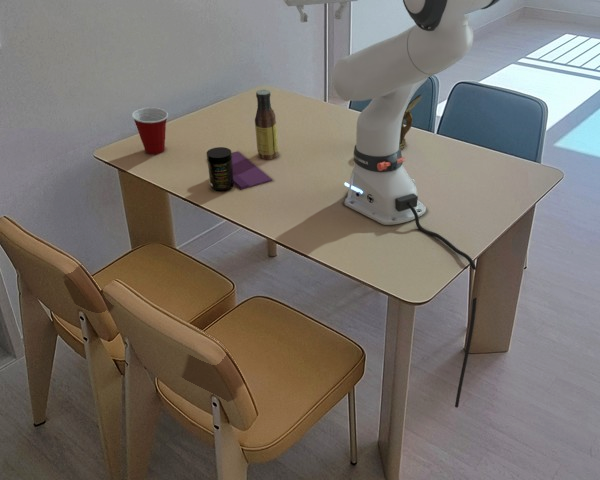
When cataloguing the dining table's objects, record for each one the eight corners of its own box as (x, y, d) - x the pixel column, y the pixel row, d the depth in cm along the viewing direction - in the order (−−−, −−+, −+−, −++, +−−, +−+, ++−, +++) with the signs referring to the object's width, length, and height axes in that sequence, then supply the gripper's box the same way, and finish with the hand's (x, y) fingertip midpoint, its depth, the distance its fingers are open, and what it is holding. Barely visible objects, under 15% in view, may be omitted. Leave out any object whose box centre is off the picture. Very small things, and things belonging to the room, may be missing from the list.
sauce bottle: (269, 149, 202) (266, 85, 189) (282, 156, 198) (280, 91, 186) (252, 155, 198) (248, 91, 186) (265, 162, 194) (261, 97, 182)
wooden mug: (407, 158, 195) (413, 99, 184) (370, 146, 202) (373, 89, 191) (423, 148, 201) (429, 90, 190) (385, 137, 207) (389, 80, 196)
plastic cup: (167, 159, 197) (161, 121, 190) (133, 157, 199) (126, 119, 192) (178, 144, 206) (172, 107, 199) (145, 142, 207) (138, 105, 200)
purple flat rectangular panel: (272, 180, 185) (272, 178, 185) (240, 189, 181) (240, 187, 181) (238, 152, 200) (238, 150, 200) (208, 160, 196) (208, 158, 196)
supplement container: (238, 189, 181) (235, 154, 175) (216, 195, 179) (212, 159, 173) (228, 179, 186) (225, 145, 180) (206, 185, 184) (202, 150, 177)
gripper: (286, -30, 157) (285, 27, 167) (366, -36, 162) (361, 21, 171) (279, -39, 162) (279, 18, 171) (357, -44, 166) (353, 12, 176)
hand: (321, 20), depth 171 cm, fingers open, 8 cm apart
